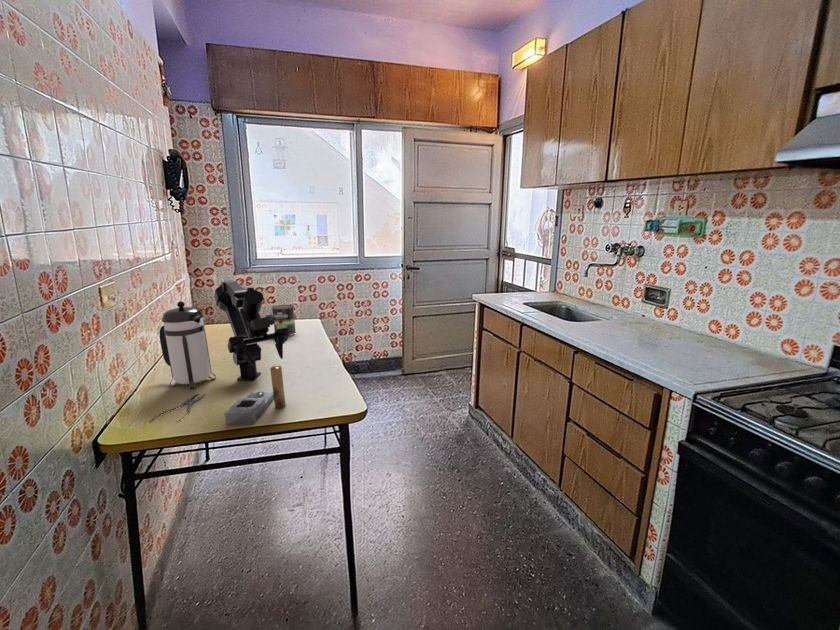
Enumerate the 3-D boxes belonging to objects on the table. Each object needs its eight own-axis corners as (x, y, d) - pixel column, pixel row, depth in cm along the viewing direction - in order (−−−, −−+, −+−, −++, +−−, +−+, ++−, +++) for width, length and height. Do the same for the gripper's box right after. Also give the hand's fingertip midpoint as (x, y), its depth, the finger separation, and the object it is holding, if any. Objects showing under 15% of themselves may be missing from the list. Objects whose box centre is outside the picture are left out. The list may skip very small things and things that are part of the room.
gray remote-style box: (251, 397, 138) (250, 387, 137) (275, 397, 138) (273, 387, 137) (226, 424, 121) (224, 413, 120) (253, 424, 121) (251, 412, 120)
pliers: (145, 423, 122) (176, 394, 141) (146, 426, 122) (176, 397, 141) (180, 421, 123) (206, 392, 142) (181, 424, 123) (207, 395, 142)
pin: (276, 404, 133) (272, 365, 130) (287, 404, 133) (282, 365, 130) (273, 409, 130) (268, 369, 127) (283, 409, 130) (279, 369, 127)
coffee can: (292, 336, 206) (289, 308, 203) (271, 337, 207) (268, 309, 203) (299, 330, 216) (296, 304, 213) (279, 331, 217) (276, 304, 213)
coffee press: (218, 371, 163) (207, 295, 155) (214, 386, 148) (201, 303, 141) (167, 378, 157) (153, 299, 150) (157, 394, 142) (141, 308, 135)
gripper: (225, 312, 128) (240, 355, 122) (284, 303, 139) (301, 342, 134) (221, 332, 136) (236, 373, 130) (278, 321, 147) (294, 359, 141)
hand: (267, 361), depth 134 cm, fingers open, 9 cm apart
